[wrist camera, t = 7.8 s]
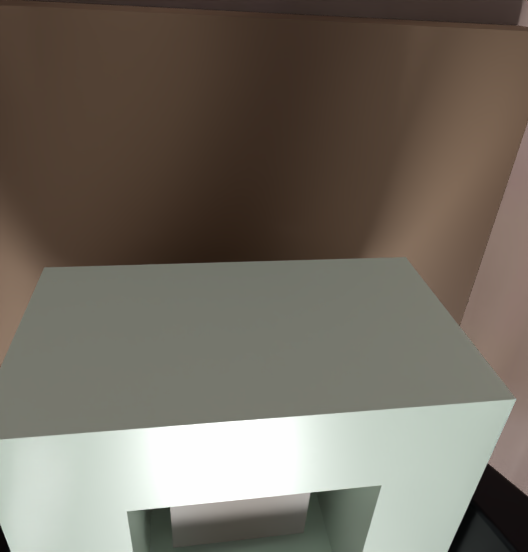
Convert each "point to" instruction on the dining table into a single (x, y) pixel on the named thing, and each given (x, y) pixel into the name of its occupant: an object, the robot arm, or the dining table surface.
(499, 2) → the dining table surface
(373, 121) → the shaft base
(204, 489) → the collar
